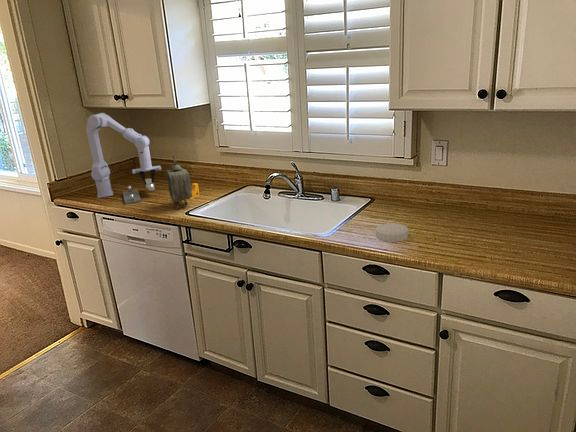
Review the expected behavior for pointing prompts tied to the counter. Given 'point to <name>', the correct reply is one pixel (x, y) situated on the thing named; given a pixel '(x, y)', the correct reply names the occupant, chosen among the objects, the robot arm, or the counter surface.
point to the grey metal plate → (131, 196)
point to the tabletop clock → (179, 183)
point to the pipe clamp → (194, 191)
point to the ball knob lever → (149, 185)
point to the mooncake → (391, 232)
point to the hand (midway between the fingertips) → (149, 184)
